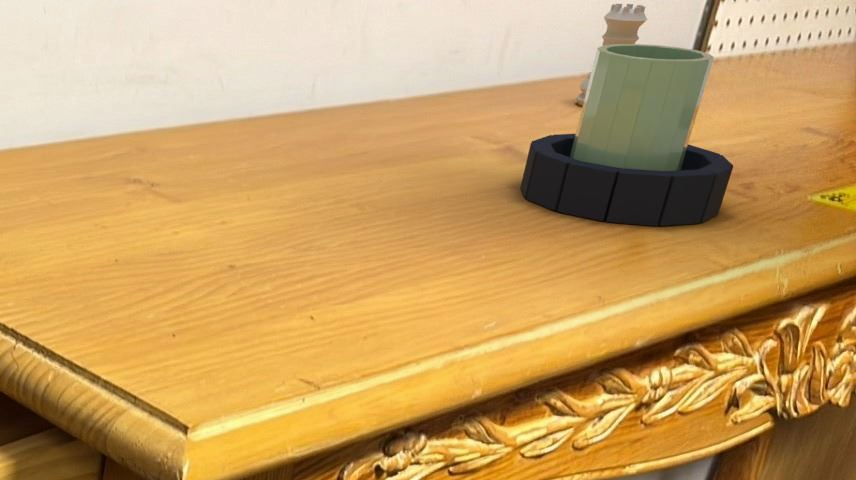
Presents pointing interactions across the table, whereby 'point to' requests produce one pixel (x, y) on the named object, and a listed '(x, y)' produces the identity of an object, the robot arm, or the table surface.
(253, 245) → the table surface
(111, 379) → the table surface
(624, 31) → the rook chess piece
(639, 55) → the cup
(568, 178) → the ring
